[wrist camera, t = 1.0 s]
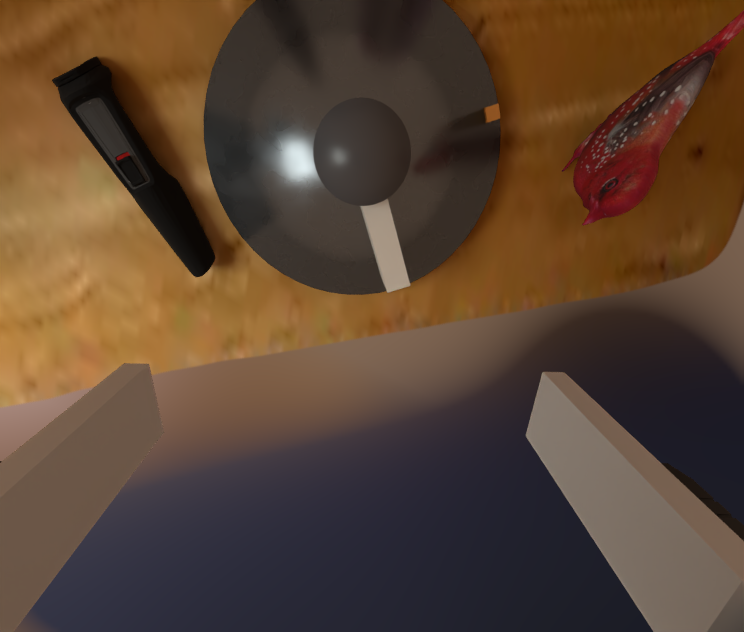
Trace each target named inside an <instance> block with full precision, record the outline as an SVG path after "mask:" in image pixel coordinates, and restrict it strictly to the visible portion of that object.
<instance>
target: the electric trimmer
mask: <svg viewBox="0 0 744 632" xmlns="http://www.w3.org/2000/svg"><path fill="white" fill-rule="evenodd" d="M100 64H101V62H100V61H99V59H98V58H97V57H93V58H91V59H89V60H87V61H86V62H84V63H83V64H81V65H80V66H78V67H76V68H74V69H72V70H70V71H68V72H66V73H64V74H62V75H61V76H59V77H56V78H54V79H53V80H52V81H53V83H54V84H55V85H56V87H58V90H59V94H60V98H61V101H62V103H63V104H64V106H65V107H66V109H67V110H68V112H69V113H70V115H71V116H72V118H73V119H74V120H75V122H76V123H77V124H78V126H79V127H80V128H81V130H82V131H83V132H84V134H85V135H86V136H87V138H88V139H89V140H90V142H91V143H92V144H93V146H94V147H95V148H96V149H97V151H98V152H99V153H100V155H101V156H102V157H103V159H104V160H105V161H106V163H107V164H108V165H109V167H110V168H111V169H112V171H113V172H114V173H115V175H116V176H117V177H118V179H119V180H120V181H121V182H122V183H123V185H124V186H125V187H126V188H127V190H128V191H129V192H130V193H131V195H132V196H133V198H134V199H135V200H136V202H137V203H138V205H139V206H140V208H141V209H142V210H143V211H144V213H145V214H146V215H147V217H148V218H149V219H150V221H151V222H152V223H153V224H154V226H155V227H156V228H157V230H158V231H159V232H160V234H161V235H162V236H163V237H164V239H165V240H166V241H167V243H168V244H169V245H170V247H171V248H172V249H173V250H174V252H175V253H176V254H177V256H178V257H179V258H180V259H181V261H182V262H183V263H184V264H185V266H186V267H187V268H188V270H189V271H190V272H191V273H192V274H193V275H194V276H195V277H200V276H203V275H204V274H205V273H206V272H207V271H208V270H209V269H210V267H211V265H212V264H213V262H214V260H215V255H214V252H213V250H212V248H211V246H210V244H209V241H208V239H207V237H206V235H205V233H204V231H203V229H202V227H201V225H200V223H199V221H198V219H197V217H196V215H195V213H194V211H193V209H192V207H191V205H190V203H189V201H188V199H187V197H186V195H185V193H184V191H183V189H182V187H181V186H180V184H179V182H178V181H177V180H176V179H175V178H174V177H172V176H171V175H170V174H168V173H167V172H166V171H165V170H164V169H163V168H162V167H161V166H160V165H159V164H158V162H157V161H156V159H155V158H154V157H153V155H152V154H151V152H150V151H149V149H148V148H147V146H146V144H145V143H144V141H143V140H142V138H141V137H140V135H139V133H138V132H137V130H136V129H135V127H134V126H133V124H132V122H131V121H130V119H129V118H128V116H127V114H126V113H125V111H124V110H123V108H122V106H121V105H120V103H119V101H118V99H117V98H116V96H115V94H114V92H113V90H112V86H111V72H110V70H109V68H108V67H106V66H103V65H100Z"/></svg>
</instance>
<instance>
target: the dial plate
mask: <svg viewBox="0 0 744 632" xmlns="http://www.w3.org/2000/svg"><path fill="white" fill-rule="evenodd" d="M360 97H361V98H370V99H375V100H377V101H380V102H382V103H384V104H385V105H387V106H388V107H390V108H391V109H392V110H393V111H394V112H395V113H396V114H397V115H398V116H399V118H400V119H401V120H402V122H403V124H404V125H405V127H406V130H407V132H408V136H409V139H410V145H411V161H410V166H409V169H408V173H407V175H406V177H405V179H404V181H403V183H402V184H401V186H400V187H399V188H398V190H397V191H396V192H395V193H394V194H393V195H391V196H390V197H389V198H388V202H389V206H390V210H391V214H392V217H393V221H394V225H395V229H396V233H397V237H398V240H399V244H400V248H401V252H402V256H403V259H404V263H405V267H406V271H407V275H408V279H409V282H410V283H411V282H413V281H415V280H417V279H419V278H421V277H423V276H425V275H426V274H428V273H429V272H431V271H432V270H433V269H435V268H436V267H438V266H439V265H440V264H441V263H443V262H444V261H445V260H446V259H447V258H448V257H449V256H451V255H452V254H453V253H454V251H455V250H456V249H457V248H458V247H459V246H460V245H461V244H462V243H463V241H464V240H465V239H466V237H467V236H468V234H469V233H470V232H471V230H472V229H473V227H474V226H475V224H476V222H477V220H478V219H479V217H480V215H481V213H482V211H483V209H484V207H485V205H486V202H487V200H488V197H489V195H490V192H491V189H492V186H493V182H494V179H495V175H496V170H497V164H498V158H499V151H500V110H499V103H498V102H497V96H496V91H495V87H494V84H493V80H492V77H491V74H490V71H489V68H488V65H487V63H486V61H485V59H484V56H483V54H482V52H481V50H480V48H479V46H478V44H477V43H476V41H475V39H474V38H473V36H472V35H471V33H470V31H469V30H468V28H467V27H466V26H465V24H464V23H463V22H462V21H461V19H460V18H459V17H458V16H457V15H456V13H455V12H454V11H453V10H452V9H451V8H450V7H449V6H448V5H447V4H446V3H445V2H443V1H442V0H256V1H255V2H254V3H253V4H252V5H251V6H250V7H249V8H247V10H246V11H245V12H244V13H243V15H242V16H241V17H240V19H239V20H238V21H237V22H236V24H235V25H234V26H233V27H232V29H231V31H230V33H229V34H228V36H227V38H226V40H225V41H224V43H223V45H222V47H221V49H220V51H219V54H218V56H217V59H216V61H215V64H214V66H213V69H212V72H211V76H210V80H209V84H208V89H207V93H206V101H205V110H204V141H205V149H206V156H207V162H208V166H209V170H210V174H211V178H212V181H213V184H214V187H215V189H216V192H217V194H218V197H219V200H220V202H221V204H222V206H223V208H224V210H225V211H226V213H227V215H228V217H229V219H230V221H231V222H232V223H233V225H234V226H235V228H236V229H237V231H238V232H239V234H240V235H241V236H242V238H243V239H244V240H245V241H246V242H247V243H248V244H249V246H250V247H251V248H252V249H253V250H254V251H255V252H256V253H257V254H258V255H259V256H261V257H262V258H263V259H264V260H265V261H266V262H267V263H268V264H270V265H271V266H273V267H274V268H276V269H277V270H278V271H280V272H281V273H283V274H284V275H286V276H288V277H290V278H292V279H294V280H296V281H297V282H300V283H302V284H305V285H307V286H310V287H313V288H316V289H320V290H323V291H327V292H332V293H340V294H361V295H363V294H372V293H380V292H384V291H386V288H385V286H384V283H383V281H382V278H381V275H380V272H379V268H378V265H377V261H376V258H375V255H374V251H373V248H372V245H371V241H370V238H369V234H368V231H367V228H366V224H365V221H364V218H363V214H362V211H361V207H360V206H357V205H352V204H348V203H346V202H343V201H341V200H340V199H338V198H336V197H335V196H334V195H333V194H331V193H330V192H329V191H328V190H327V188H326V187H325V186H324V184H323V183H322V181H321V180H320V178H319V176H318V173H317V171H316V168H315V164H314V158H313V145H314V138H315V134H316V131H317V129H318V126H319V124H320V122H321V121H322V119H323V118H324V116H325V115H326V114H327V113H328V112H329V111H330V110H331V109H332V108H333V107H335V106H336V105H338V104H339V103H341V102H343V101H346V100H348V99H352V98H360Z"/></svg>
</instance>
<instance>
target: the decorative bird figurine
mask: <svg viewBox="0 0 744 632" xmlns="http://www.w3.org/2000/svg"><path fill="white" fill-rule="evenodd" d="M743 28H744V11H743V12H742V13H740V14H739V15H738V16H737V17H736V18H735V19H734V20H732V21H731V22H730V23H729V24H728V25H727V26H725V27H724V28H723V29H722V30H721V31H720V32H719V33H717V34H716V35H715V36H714V37H712V38H711V39H710V40H709V41H707V42H706V43H705V44H703V45H702V46H701V47H699V48H698V49H696V50H695V51H693V52H691V53H690V54H688V55H687V56H685V57H683V58H682V59H680V60H678V61H677V62H675V63H674V64H672V65H670V66H669V67H667V68H666V69H664V70H663V71H661V72H660V73H659V74H657V75H656V76H655V77H654V78H653V79H652V80H650V81H649V82H648V83H647V84H646V85H645V86H643V87H642V88H641V89H640V90H639V91H637V92H636V93H635V94H633V95H632V96H631V97H630V98H629V99H627V100H626V101H625V102H624V103H622V104H621V105H620V106H619V107H618V108H617V109H616V110H615V111H614V112H613V113H612V114H610V115H609V116H608V117H607V119H606V120H605V121H604V122H603V123H601V124H600V125H599V126H598V127H597V128H596V130H595V131H593V132H592V133H591V134H590V135H589V136H588V137H587V138H586V139H585V140H584V141H583V142H582V143H581V144H580V145H579V147H578V148H577V149H576V150H575V152H574V155H573V157H572V159H571V160H570V161H569V162H568V164H567V165H566V167H565V168H564V169H563V170H562V171H564V170H565V169H567V168H568V167H569V165H570V164H571V163H572V162H573V161H574V159H576V158H577V157H579V156H580V157H579V159H578V162H577V164H576V167H575V170H574V178H573V182H574V187H575V190H576V192H577V194H578V195H579V196H580V197H581V199H582V200H583V205H584V207H586V208H587V209H588V210H590V212H589V214H588V216H587V218H586V219H585V221H584V223H583V224H582V225H586V224H589V223H593V222H595V221H597V220H599V219H602V218H606V217H614V216H618V215H621V214H623V213H626V212H628V211H629V210H631V209H632V208H634V207H635V206H636V205H638V204H639V203H640V202H641V201H642V200H643V199H644V197H645V196H646V195H647V193H648V191H649V190H650V188H651V186H652V184H653V183H654V181H655V179H656V176H657V173H658V165H659V157H660V155H661V153H662V151H663V150H664V148H665V146H666V144H667V143H668V141H669V140H670V138H671V136H672V135H673V133H674V132H675V131H676V129H677V128H678V126H679V125H680V123H681V122H682V120H683V119H684V117H685V116H686V114H687V113H688V111H689V110H690V108H691V106H692V105H693V103H694V101H695V99H696V98H697V96H698V94H699V92H700V90H701V89H702V86H703V85H704V83H705V80H706V78H707V76H708V74H709V72H710V70H711V67H712V65H713V62H714V60H715V58H716V56H717V55H718V54H719V53H720V52H721V51H722V50H723V49H724V48H725V46H726V45H727V44H728V43H729V42H730V41H731V40H732V39H733V38H734V37H735V36H736V35H737V34H738V33H739V32H740V31H741V30H742V29H743Z"/></svg>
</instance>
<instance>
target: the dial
mask: <svg viewBox="0 0 744 632" xmlns="http://www.w3.org/2000/svg"><path fill="white" fill-rule="evenodd" d="M313 158H314V164H315V168H316V171H317V173H318V176H319V178H320V180H321V181H322V183H323V184H324V186H325V187H326V188H327V190H328V191H329V192H330V193H331V194H333V195H334V196H335V197H336V198H338V199H340V200H341V201H343V202H346V203H348V204H352V205H357V206H360V207H361V211H362V214H363V218H364V221H365V224H366V228H367V231H368V234H369V238H370V241H371V245H372V248H373V251H374V255H375V258H376V261H377V265H378V268H379V272H380V275H381V278H382V281H383V283H384V286H385V288H386V291H387V293H388V292H392V291H395V290H398V289H401V288H405V287H408V286H410V282H409V279H408V275H407V271H406V267H405V263H404V259H403V256H402V252H401V248H400V244H399V240H398V237H397V233H396V229H395V225H394V221H393V217H392V214H391V210H390V206H389V202H388V198H389V197H390V196H391V195H393V194H394V193H395V192H396V191H397V190H398V188H399V187H400V186H401V184H402V183H403V181H404V179H405V177H406V175H407V173H408V169H409V166H410V161H411V145H410V139H409V136H408V132H407V130H406V127H405V125H404V124H403V122H402V120H401V119H400V118H399V116H398V115H397V114H396V113H395V112H394V111H393V110H392V109H391V108H390V107H388V106H387V105H385V104H384V103H382V102H380V101H377V100H375V99H370V98H361V97H360V98H352V99H348V100H346V101H343V102H341V103H339V104H338V105H336V106H335V107H333V108H332V109H331V110H330V111H329V112H328V113H327V114H326V115H325V116H324V118H323V119H322V121H321V122H320V124H319V126H318V129H317V131H316V134H315V138H314V145H313Z"/></svg>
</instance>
